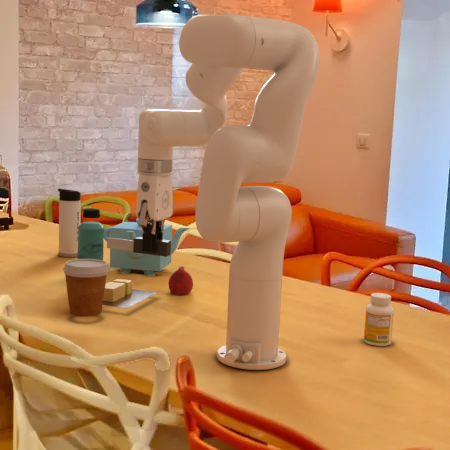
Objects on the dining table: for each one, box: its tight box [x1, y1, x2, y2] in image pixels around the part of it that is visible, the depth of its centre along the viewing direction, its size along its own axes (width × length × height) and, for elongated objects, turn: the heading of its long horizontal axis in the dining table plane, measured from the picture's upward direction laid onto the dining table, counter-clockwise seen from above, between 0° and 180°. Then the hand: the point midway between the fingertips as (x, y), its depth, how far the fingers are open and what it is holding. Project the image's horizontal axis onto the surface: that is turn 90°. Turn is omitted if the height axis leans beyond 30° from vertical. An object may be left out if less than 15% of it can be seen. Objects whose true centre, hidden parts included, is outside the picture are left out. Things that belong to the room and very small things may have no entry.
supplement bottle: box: [363, 292, 394, 347], centre depth 148 cm, size 5×5×10 cm
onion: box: [167, 265, 194, 296], centre depth 176 cm, size 6×6×8 cm
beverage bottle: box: [76, 207, 105, 261], centre depth 180 cm, size 6×7×20 cm
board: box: [102, 288, 158, 309], centre depth 170 cm, size 16×12×2 cm
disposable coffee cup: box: [62, 258, 110, 317], centre depth 156 cm, size 10×10×12 cm
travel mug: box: [57, 188, 82, 258], centre depth 220 cm, size 6×7×20 cm
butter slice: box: [111, 278, 133, 295], centre depth 173 cm, size 2×4×3 cm, turn 71°
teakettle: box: [103, 217, 191, 277], centre depth 203 cm, size 19×19×15 cm
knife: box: [106, 237, 171, 257], centre depth 165 cm, size 15×2×3 cm, turn 71°
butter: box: [103, 281, 125, 302], centre depth 168 cm, size 6×4×3 cm, turn 161°
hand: (152, 249), depth 164 cm, fingers closed on knife, 2 cm apart
